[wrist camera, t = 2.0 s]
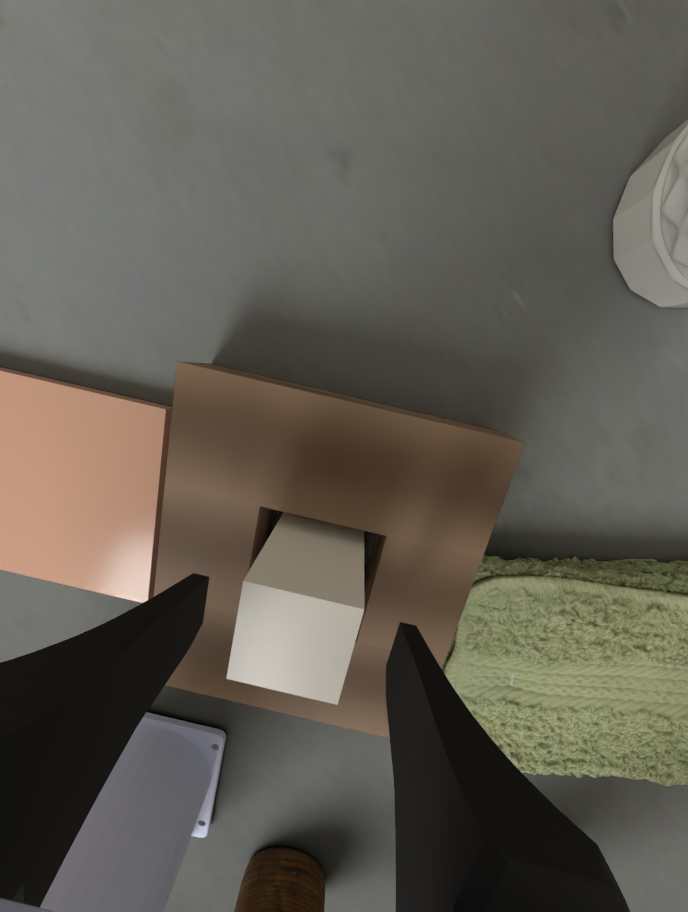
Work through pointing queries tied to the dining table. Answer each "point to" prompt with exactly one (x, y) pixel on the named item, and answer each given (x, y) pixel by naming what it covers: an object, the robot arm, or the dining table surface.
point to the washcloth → (578, 665)
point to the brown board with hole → (324, 518)
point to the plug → (301, 609)
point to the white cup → (656, 225)
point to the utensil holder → (282, 883)
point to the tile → (81, 485)
